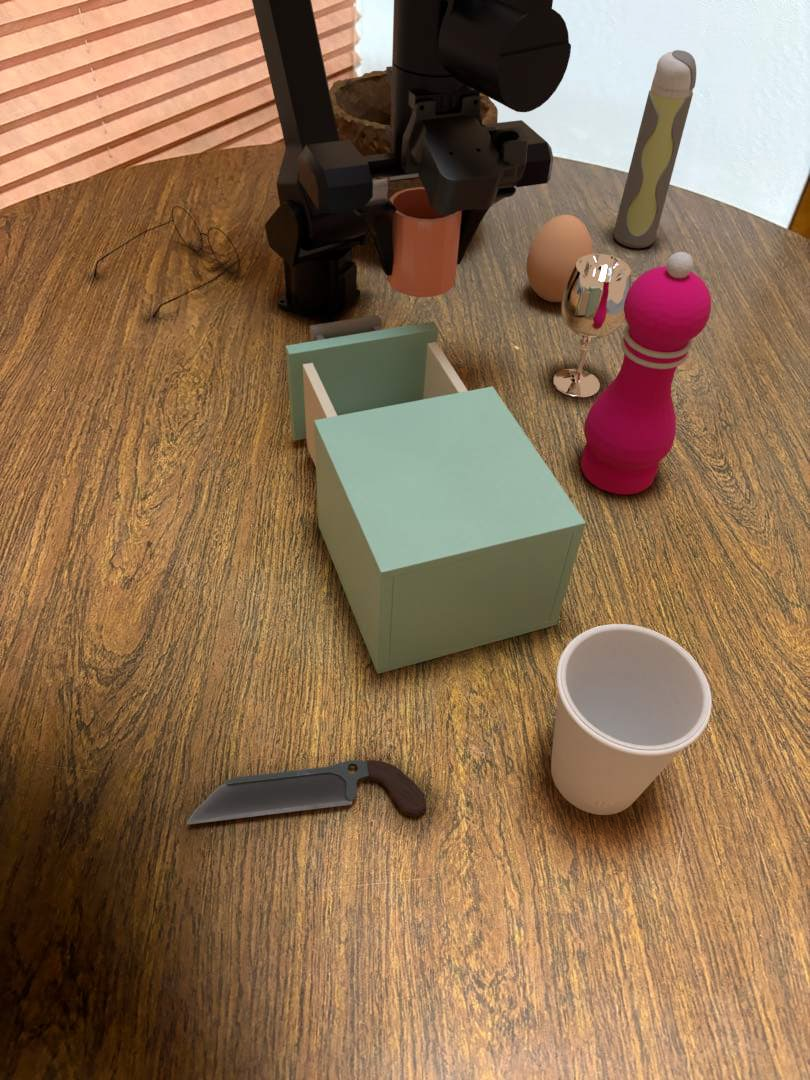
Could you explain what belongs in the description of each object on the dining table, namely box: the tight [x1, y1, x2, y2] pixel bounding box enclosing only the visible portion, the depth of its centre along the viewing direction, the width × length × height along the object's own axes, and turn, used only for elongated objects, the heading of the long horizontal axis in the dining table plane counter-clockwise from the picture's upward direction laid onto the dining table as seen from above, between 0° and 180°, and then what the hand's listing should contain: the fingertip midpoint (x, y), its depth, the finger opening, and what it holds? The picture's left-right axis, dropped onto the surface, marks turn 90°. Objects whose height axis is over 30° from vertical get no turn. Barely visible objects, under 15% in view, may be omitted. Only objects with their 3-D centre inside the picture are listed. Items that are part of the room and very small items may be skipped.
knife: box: [186, 759, 427, 826], centre depth 51 cm, size 14×4×1 cm, turn 99°
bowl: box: [329, 69, 499, 199], centre depth 94 cm, size 19×19×15 cm
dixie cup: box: [550, 623, 713, 816], centre depth 50 cm, size 8×8×10 cm
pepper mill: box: [580, 251, 712, 496], centre depth 66 cm, size 7×7×20 cm
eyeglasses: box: [93, 205, 241, 319], centre depth 89 cm, size 11×13×5 cm
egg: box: [526, 214, 594, 303], centre depth 88 cm, size 7×7×9 cm
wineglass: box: [552, 253, 632, 399], centre depth 77 cm, size 6×6×12 cm
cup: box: [386, 187, 462, 298], centre depth 69 cm, size 6×6×6 cm
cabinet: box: [314, 386, 587, 675], centre depth 60 cm, size 15×14×11 cm
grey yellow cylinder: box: [613, 49, 697, 249], centre depth 93 cm, size 5×5×20 cm
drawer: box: [285, 314, 469, 468], centre depth 69 cm, size 18×12×9 cm
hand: (421, 267), depth 71 cm, fingers closed on cup, 6 cm apart
